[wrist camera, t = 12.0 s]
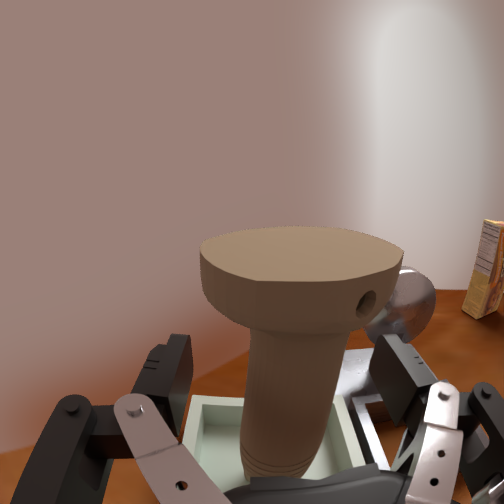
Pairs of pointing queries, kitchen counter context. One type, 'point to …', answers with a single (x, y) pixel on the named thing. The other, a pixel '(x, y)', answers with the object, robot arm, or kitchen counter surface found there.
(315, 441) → the handle
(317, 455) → the tray
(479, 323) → the kitchen counter surface
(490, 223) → the candy box
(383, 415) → the bracket
